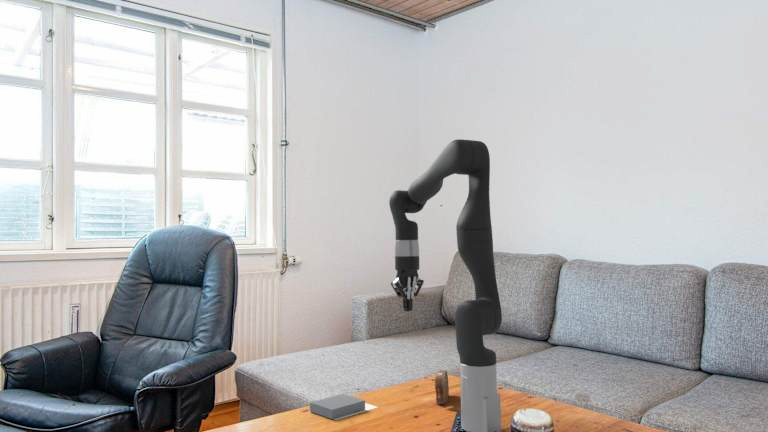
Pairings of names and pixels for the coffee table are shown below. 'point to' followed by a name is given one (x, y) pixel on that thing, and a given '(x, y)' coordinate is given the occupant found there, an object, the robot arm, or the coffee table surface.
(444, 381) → the tin
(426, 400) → the coffee table surface
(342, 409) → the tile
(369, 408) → the mat
